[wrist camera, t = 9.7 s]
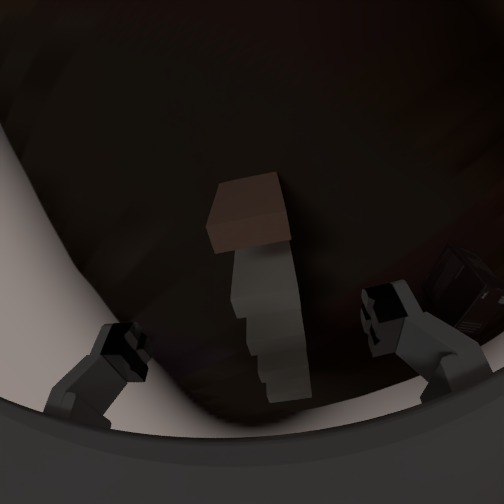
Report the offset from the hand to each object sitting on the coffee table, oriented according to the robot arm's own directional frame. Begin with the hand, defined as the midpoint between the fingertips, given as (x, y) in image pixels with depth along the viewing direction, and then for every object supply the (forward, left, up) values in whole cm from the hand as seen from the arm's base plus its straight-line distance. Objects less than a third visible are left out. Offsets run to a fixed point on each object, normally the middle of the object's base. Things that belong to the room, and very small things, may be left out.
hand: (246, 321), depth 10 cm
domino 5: (+19, 0, -14) cm, 24 cm away
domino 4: (+15, 0, -14) cm, 20 cm away
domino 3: (+10, 0, -14) cm, 17 cm away
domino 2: (+6, 0, -14) cm, 15 cm away
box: (+13, +20, -14) cm, 28 cm away
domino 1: (0, 0, -14) cm, 14 cm away
